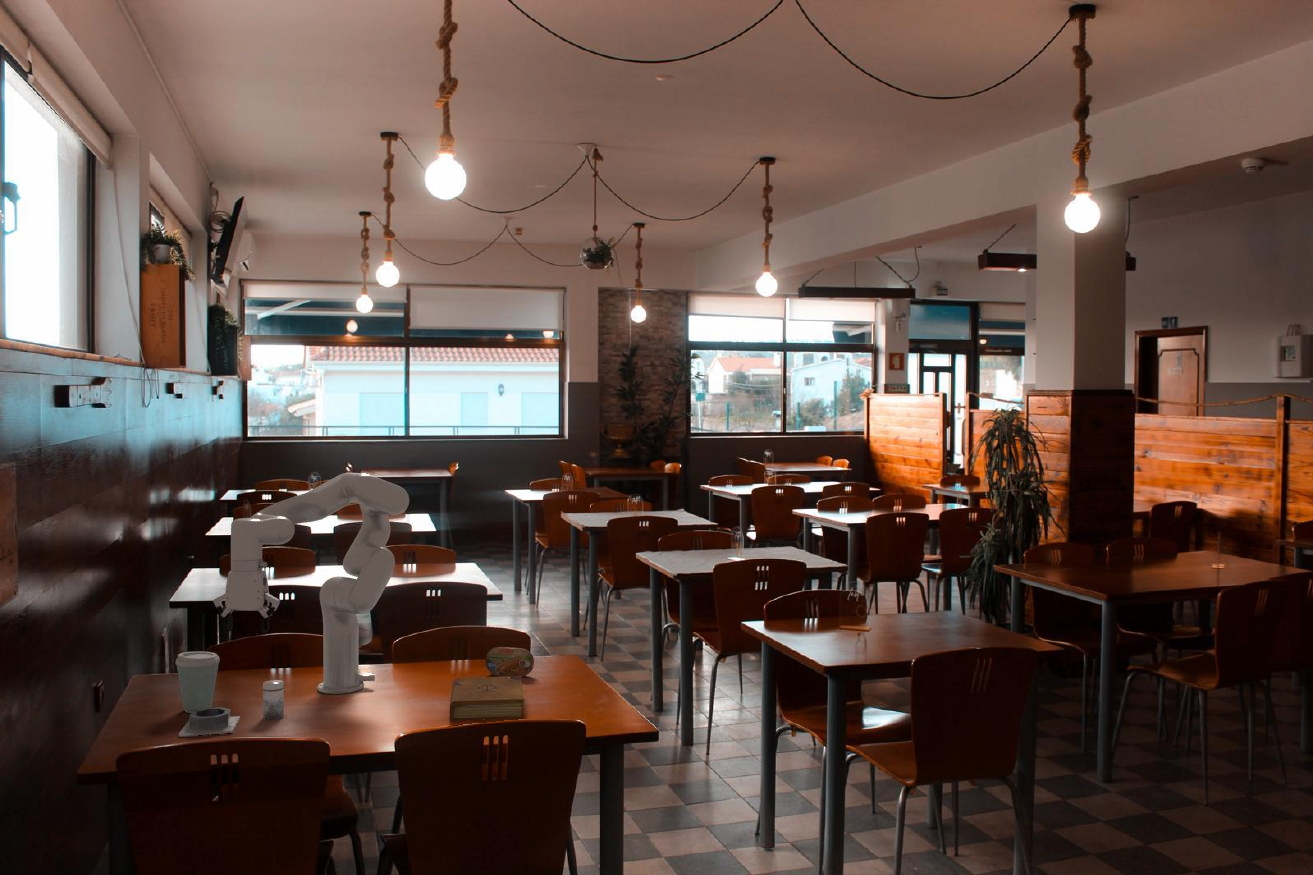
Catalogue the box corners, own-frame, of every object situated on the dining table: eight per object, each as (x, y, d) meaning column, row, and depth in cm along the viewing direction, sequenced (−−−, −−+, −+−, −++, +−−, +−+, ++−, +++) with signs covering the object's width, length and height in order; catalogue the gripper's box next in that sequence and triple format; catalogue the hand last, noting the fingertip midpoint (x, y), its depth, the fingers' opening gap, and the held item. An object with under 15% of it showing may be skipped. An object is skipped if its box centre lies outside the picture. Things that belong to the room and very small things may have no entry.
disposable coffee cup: (207, 702, 279) (207, 646, 279) (228, 709, 272) (227, 652, 272) (168, 710, 271) (168, 653, 271) (188, 718, 264) (188, 660, 264)
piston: (285, 714, 269) (284, 679, 268) (282, 719, 264) (282, 684, 264) (264, 715, 268) (264, 680, 267) (261, 721, 263) (261, 685, 262)
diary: (452, 699, 286) (452, 678, 286) (521, 696, 289) (521, 675, 289) (449, 723, 263) (449, 700, 263) (523, 720, 266) (523, 697, 266)
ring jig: (240, 719, 264) (240, 704, 264) (232, 733, 252) (232, 718, 252) (189, 722, 261) (189, 707, 261) (178, 737, 249) (178, 721, 249)
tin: (484, 674, 310) (484, 646, 310) (489, 672, 313) (489, 644, 313) (531, 678, 306) (531, 650, 305) (535, 676, 309) (535, 648, 308)
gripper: (285, 564, 272) (285, 629, 272) (221, 563, 273) (221, 628, 273) (273, 568, 264) (273, 635, 265) (207, 567, 265) (207, 634, 266)
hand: (246, 631), depth 269 cm, fingers open, 9 cm apart
